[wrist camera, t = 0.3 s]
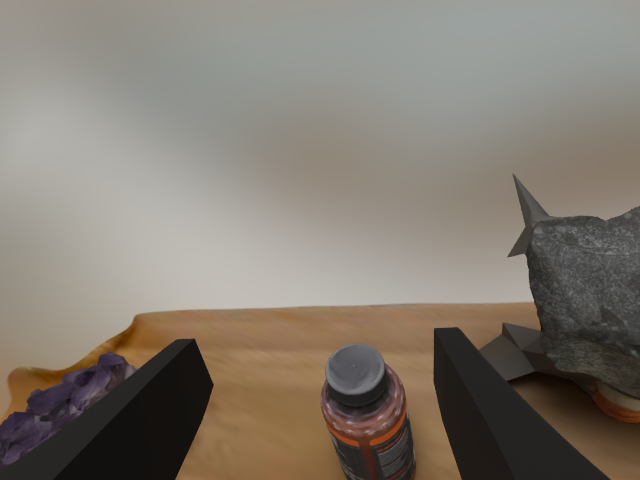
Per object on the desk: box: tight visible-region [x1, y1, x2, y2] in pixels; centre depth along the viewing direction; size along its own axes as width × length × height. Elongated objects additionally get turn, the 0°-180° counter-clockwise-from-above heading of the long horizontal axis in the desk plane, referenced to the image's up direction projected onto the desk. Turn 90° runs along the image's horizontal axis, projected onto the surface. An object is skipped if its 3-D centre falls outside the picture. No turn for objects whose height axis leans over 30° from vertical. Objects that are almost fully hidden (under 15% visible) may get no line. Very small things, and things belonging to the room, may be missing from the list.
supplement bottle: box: [321, 344, 416, 480], centre depth 22 cm, size 6×6×11 cm
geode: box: [0, 352, 139, 471], centre depth 28 cm, size 20×12×10 cm, turn 159°
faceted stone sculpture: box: [478, 174, 640, 423], centre depth 22 cm, size 14×15×18 cm
